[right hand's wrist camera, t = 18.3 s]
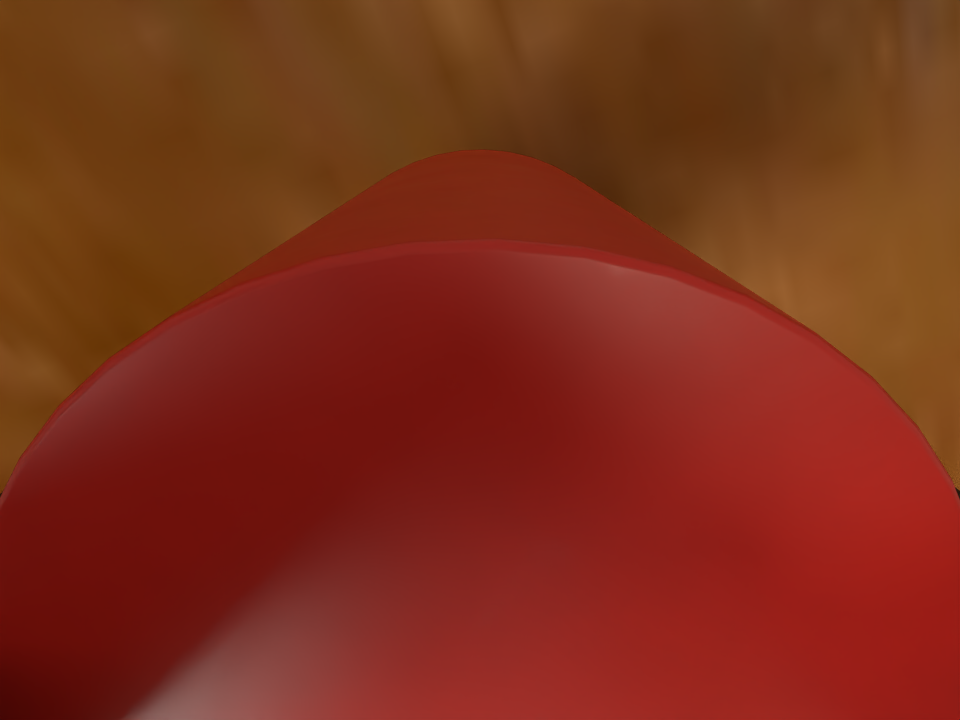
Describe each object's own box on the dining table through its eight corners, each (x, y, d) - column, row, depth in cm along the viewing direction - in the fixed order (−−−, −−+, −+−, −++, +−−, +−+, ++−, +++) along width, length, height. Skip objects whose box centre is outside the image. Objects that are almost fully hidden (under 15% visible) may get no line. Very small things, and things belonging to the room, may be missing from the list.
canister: (243, 318, 17) (-222, 718, 6) (486, 65, 14) (511, -109, 3) (474, 521, 19) (467, 1077, 8) (713, 330, 17) (1166, 744, 6)
